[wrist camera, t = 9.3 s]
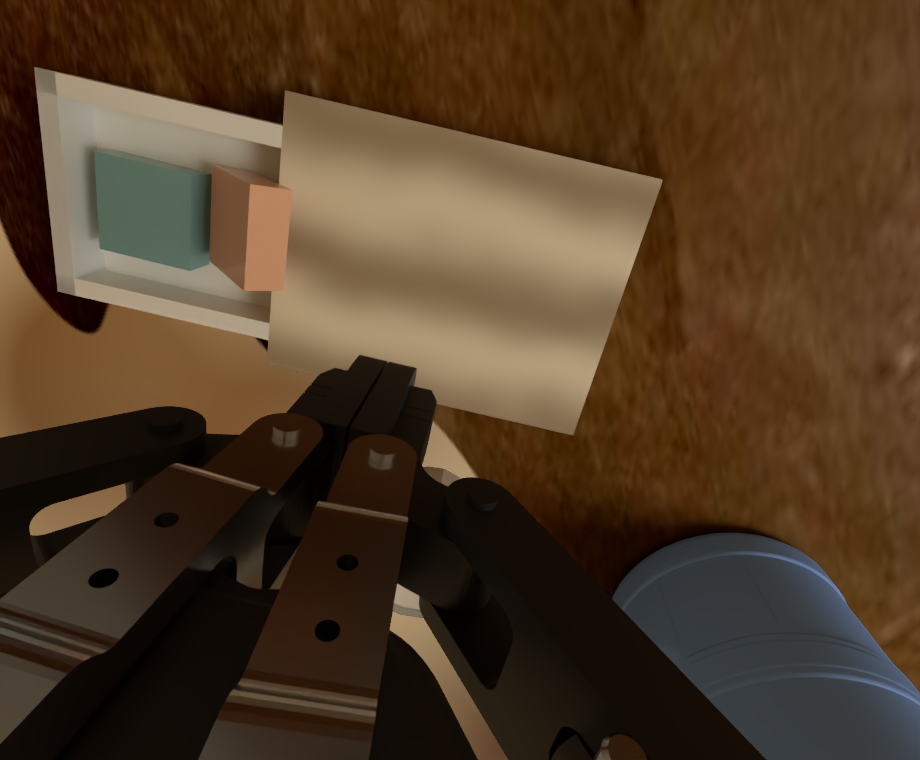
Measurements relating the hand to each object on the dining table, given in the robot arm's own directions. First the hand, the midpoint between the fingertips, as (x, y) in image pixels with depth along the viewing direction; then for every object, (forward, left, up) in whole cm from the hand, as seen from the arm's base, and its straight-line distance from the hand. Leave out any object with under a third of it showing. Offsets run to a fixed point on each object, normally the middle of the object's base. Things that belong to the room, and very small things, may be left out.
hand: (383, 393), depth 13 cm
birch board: (0, 0, -17) cm, 17 cm away
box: (0, -15, -17) cm, 23 cm away
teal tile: (0, -16, -15) cm, 22 cm away
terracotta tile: (0, -10, -15) cm, 18 cm away
